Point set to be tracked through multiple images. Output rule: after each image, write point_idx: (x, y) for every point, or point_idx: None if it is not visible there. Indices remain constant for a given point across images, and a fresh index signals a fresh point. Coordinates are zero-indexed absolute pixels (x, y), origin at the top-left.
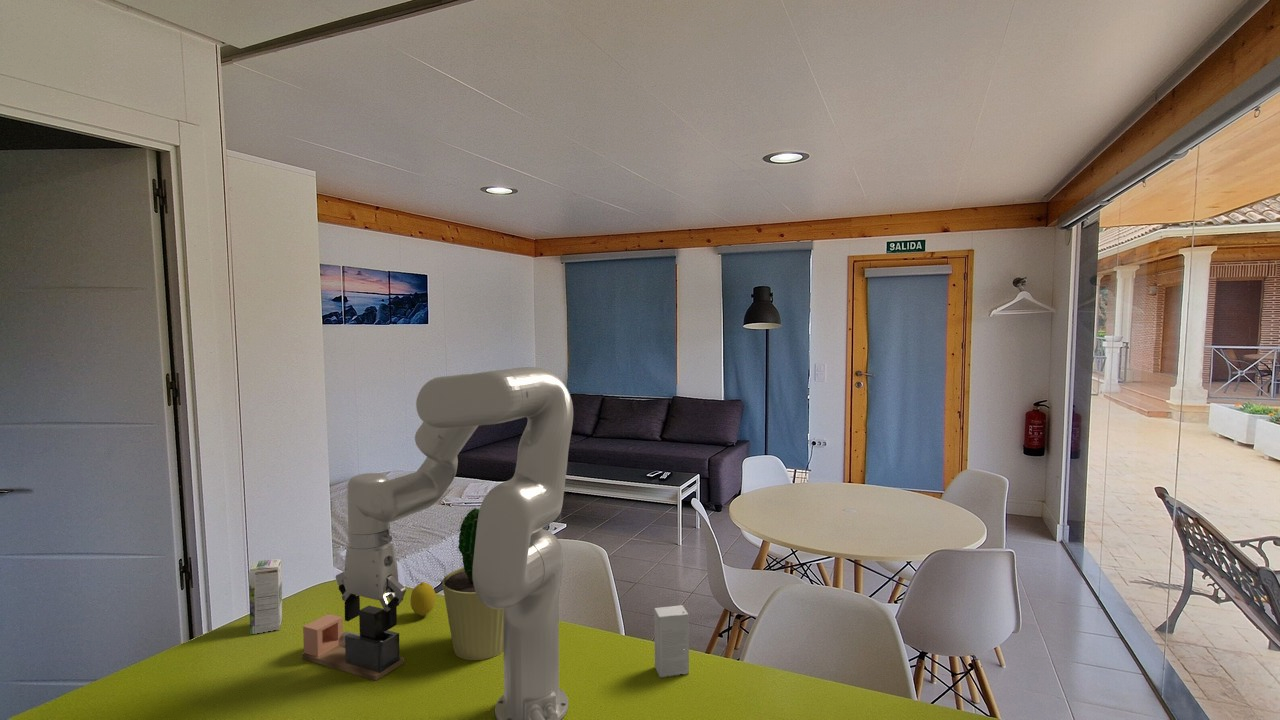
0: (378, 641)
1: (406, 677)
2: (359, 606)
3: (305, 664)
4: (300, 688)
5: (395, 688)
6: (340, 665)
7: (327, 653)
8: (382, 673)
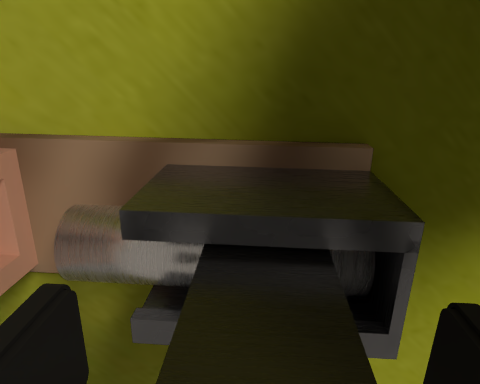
0: (364, 336)
1: (448, 224)
2: (30, 341)
3: (29, 278)
4: (150, 372)
5: (450, 288)
6: None
7: (44, 233)
8: None
